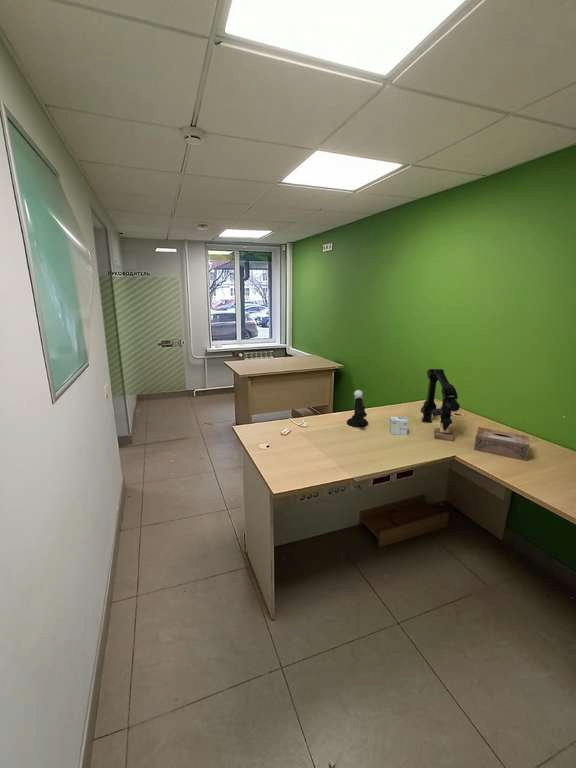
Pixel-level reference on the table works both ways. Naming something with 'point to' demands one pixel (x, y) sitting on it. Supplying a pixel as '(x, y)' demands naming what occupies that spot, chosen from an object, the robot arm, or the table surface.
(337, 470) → the table surface
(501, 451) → the tissue box cover
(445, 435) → the pedestal
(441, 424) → the beige cube
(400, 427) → the light bulb box
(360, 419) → the sculpture
